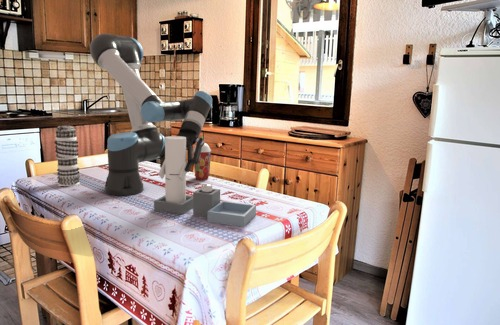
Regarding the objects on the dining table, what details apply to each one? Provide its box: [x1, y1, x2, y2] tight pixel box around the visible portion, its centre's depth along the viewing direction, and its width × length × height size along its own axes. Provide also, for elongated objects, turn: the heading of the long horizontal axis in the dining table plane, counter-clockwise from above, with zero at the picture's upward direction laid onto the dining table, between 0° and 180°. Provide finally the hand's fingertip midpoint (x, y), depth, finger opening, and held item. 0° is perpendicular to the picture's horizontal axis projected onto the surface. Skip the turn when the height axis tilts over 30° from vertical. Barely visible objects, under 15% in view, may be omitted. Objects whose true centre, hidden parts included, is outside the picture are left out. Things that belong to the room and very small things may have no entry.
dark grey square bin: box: [153, 194, 193, 215], centre depth 139 cm, size 11×11×4 cm
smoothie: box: [193, 136, 212, 181], centre depth 181 cm, size 8×8×20 cm
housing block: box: [192, 187, 221, 218], centre depth 134 cm, size 7×7×8 cm
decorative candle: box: [53, 125, 81, 187], centre depth 164 cm, size 9×9×25 cm
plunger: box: [201, 183, 213, 193], centre depth 133 cm, size 4×4×4 cm
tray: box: [206, 200, 257, 228], centre depth 130 cm, size 13×13×4 cm
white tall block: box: [164, 135, 187, 203], centre depth 136 cm, size 7×7×25 cm
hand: (170, 177), depth 133 cm, fingers closed on white tall block, 7 cm apart
